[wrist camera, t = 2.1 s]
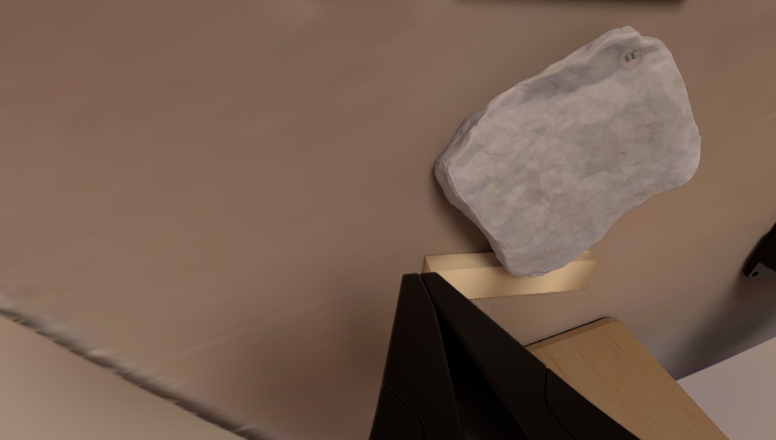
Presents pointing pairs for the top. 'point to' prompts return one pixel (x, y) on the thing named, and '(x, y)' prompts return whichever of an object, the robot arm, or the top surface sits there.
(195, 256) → the top surface
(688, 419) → the wooden block
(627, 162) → the stone block
